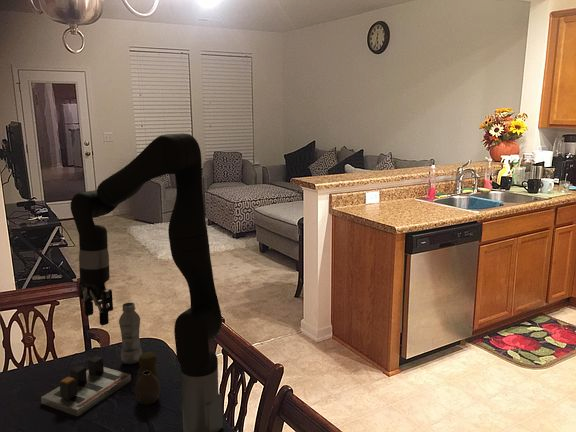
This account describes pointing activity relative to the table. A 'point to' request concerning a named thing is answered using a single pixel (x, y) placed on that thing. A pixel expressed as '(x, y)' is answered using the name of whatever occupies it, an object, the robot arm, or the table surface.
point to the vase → (147, 388)
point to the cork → (148, 363)
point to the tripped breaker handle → (68, 388)
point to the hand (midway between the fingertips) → (96, 319)
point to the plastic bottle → (130, 334)
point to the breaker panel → (88, 387)
